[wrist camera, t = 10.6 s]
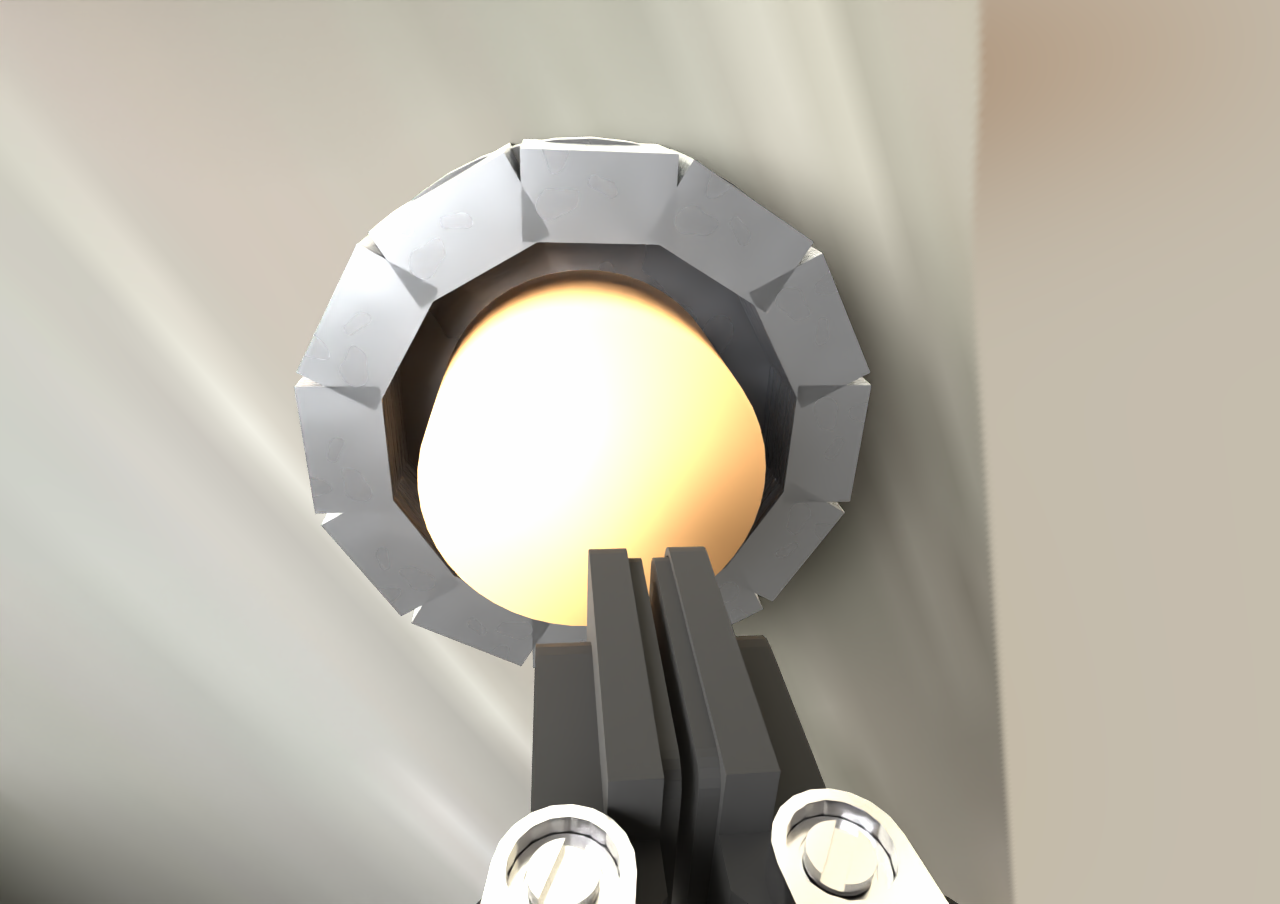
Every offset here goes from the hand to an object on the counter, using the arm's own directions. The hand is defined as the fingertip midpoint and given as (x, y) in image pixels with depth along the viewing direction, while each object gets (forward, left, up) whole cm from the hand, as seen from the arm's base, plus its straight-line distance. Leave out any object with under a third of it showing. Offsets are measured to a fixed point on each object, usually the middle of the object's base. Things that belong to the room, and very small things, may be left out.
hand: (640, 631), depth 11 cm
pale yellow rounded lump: (0, 0, -9) cm, 9 cm away
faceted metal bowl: (0, 0, -10) cm, 10 cm away
